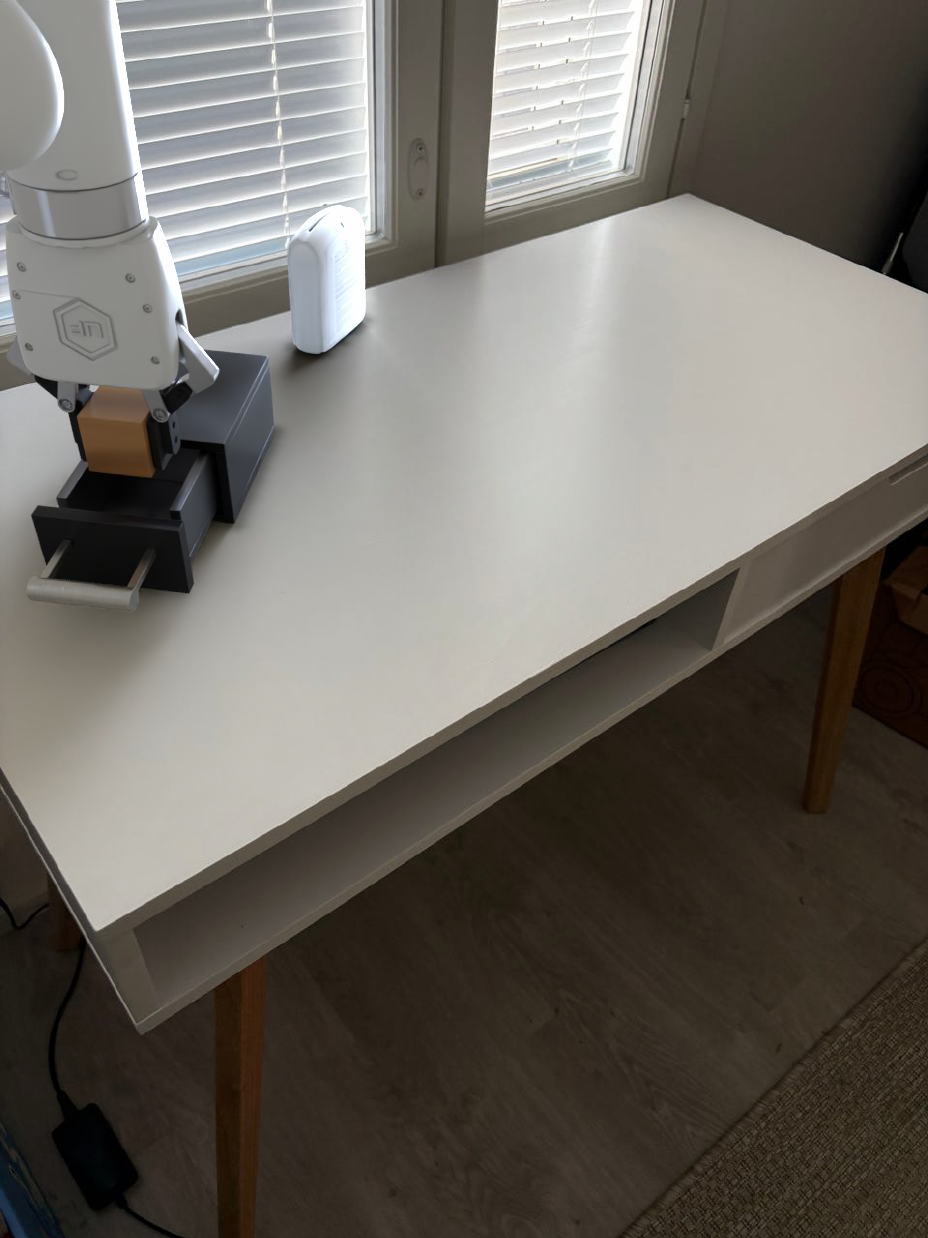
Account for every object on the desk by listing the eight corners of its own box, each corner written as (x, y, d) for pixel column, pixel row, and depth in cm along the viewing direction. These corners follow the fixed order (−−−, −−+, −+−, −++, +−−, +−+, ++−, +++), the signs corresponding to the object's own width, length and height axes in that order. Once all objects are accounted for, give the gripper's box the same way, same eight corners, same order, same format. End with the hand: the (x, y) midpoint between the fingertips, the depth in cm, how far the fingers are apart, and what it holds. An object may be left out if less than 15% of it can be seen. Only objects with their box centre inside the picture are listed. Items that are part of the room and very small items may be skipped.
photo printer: (335, 308, 109) (331, 191, 100) (370, 317, 108) (369, 199, 99) (286, 349, 102) (277, 227, 93) (324, 359, 101) (319, 237, 92)
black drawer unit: (234, 524, 81) (224, 443, 76) (92, 508, 81) (72, 427, 76) (275, 432, 91) (268, 355, 86) (148, 418, 91) (134, 341, 86)
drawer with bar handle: (164, 650, 69) (150, 586, 65) (15, 633, 69) (-7, 568, 65) (235, 493, 82) (228, 432, 78) (110, 479, 83) (97, 418, 79)
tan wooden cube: (151, 478, 72) (141, 423, 68) (89, 471, 72) (76, 416, 69) (171, 443, 75) (162, 389, 72) (111, 437, 75) (100, 383, 72)
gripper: (-88, 209, 58) (-6, 472, 71) (200, 238, 58) (231, 498, 70) (-28, 164, 64) (38, 415, 76) (235, 191, 63) (258, 439, 76)
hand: (130, 453), depth 73 cm, fingers closed on tan wooden cube, 4 cm apart
